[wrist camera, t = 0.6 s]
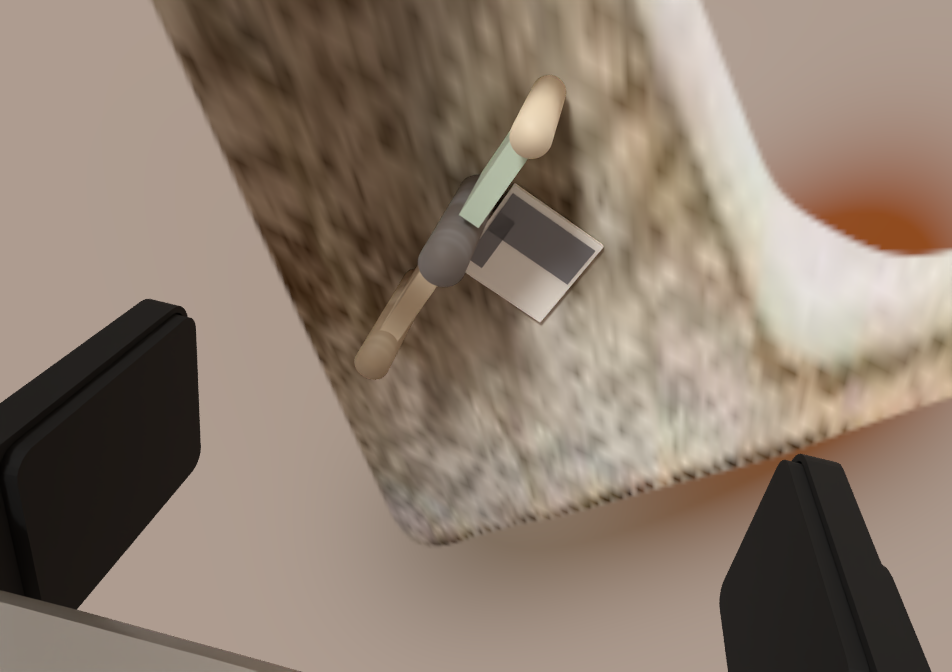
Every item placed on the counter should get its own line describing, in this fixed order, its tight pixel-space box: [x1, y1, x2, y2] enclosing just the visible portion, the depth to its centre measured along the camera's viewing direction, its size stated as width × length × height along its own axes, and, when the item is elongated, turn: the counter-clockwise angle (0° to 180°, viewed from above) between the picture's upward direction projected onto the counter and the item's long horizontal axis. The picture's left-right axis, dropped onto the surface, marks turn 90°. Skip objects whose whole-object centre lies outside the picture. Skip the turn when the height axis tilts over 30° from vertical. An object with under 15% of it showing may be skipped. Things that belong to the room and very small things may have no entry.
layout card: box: [465, 183, 603, 322], centre depth 38 cm, size 6×6×1 cm
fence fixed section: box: [354, 175, 493, 380], centre depth 35 cm, size 8×2×9 cm, turn 147°
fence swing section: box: [459, 75, 566, 228], centre depth 31 cm, size 6×2×8 cm, turn 147°
